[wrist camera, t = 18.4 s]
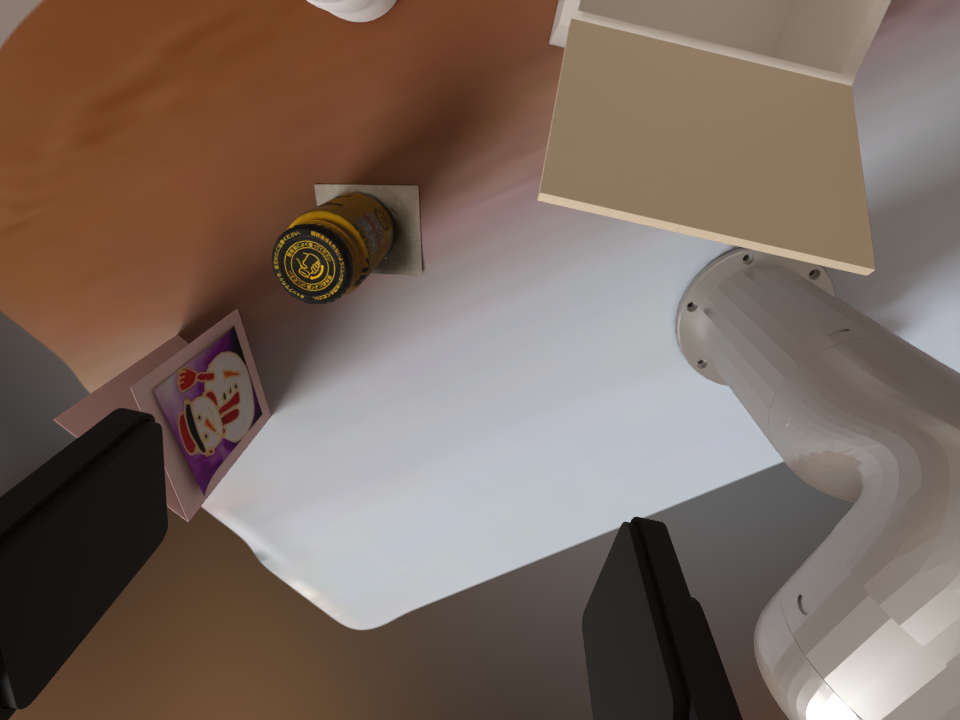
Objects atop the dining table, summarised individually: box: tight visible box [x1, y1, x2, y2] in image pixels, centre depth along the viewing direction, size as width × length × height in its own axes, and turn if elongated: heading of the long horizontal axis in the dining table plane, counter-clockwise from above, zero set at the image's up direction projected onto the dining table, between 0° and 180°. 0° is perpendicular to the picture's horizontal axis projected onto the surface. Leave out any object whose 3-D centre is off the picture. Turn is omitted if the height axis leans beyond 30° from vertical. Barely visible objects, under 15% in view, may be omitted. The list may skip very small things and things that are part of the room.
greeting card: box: [54, 308, 271, 522], centre depth 45 cm, size 11×7×15 cm, turn 6°
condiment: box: [272, 184, 422, 304], centre depth 40 cm, size 7×8×12 cm
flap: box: [538, 18, 876, 276], centre depth 26 cm, size 15×12×1 cm
